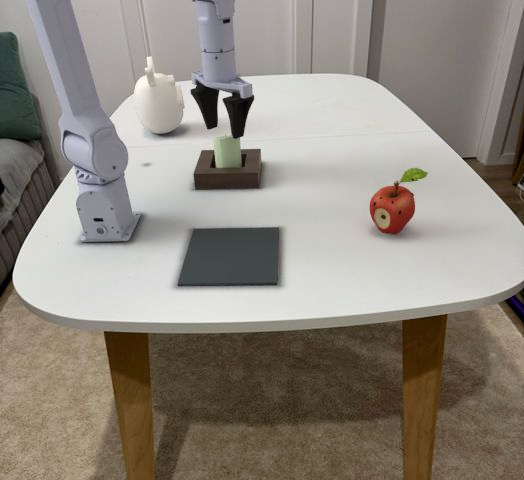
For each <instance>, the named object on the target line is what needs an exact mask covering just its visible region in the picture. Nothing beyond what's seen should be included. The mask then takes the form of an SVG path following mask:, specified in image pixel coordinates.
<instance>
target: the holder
mask: <svg viewBox="0 0 524 480" xmlns="http://www.w3.org/2000/svg"><path fill="white" fill-rule="evenodd" d="M241 162H242V167H232V168H216V162H215V152H214V149H201V151H200V154H199V156H198V160H197V162H196V165H195V168H194V171H193V173H192V175H193V183H194V189H195V190H227V189H228V190H229V189H231V190H235V189H236V190H237V189H259V188H260V180H261V171H262V148H241Z"/></svg>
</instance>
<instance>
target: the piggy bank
mask: <svg viewBox="0 0 524 480" xmlns="http://www.w3.org/2000/svg"><path fill="white" fill-rule="evenodd" d="M144 71H145V74H144V75H143V76H141V77H140V78H139V79H138V80H137V81H136V83H135V86H134V90H133V103H134V109H135V110H134V111H135V115H136V118H137V120H138V123H140V125H141V126H142V127H143V128H144V129H145V130H146V131H148V132H150V133H153V134H157V135H160V134H161V135H163V134H167V133H170V132H173V131H174V130H175V129H178V127H179V126H180V124H181V123H182V121H183V118H184V109H185V100H184V94H183V91H182V87H181V85H176V79H175V75H174V74H169V75H166V74H164V73H161V72H156V66H155V62H154V58H153V56H152V55H150V56H146V67H145V68H144Z"/></svg>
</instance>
